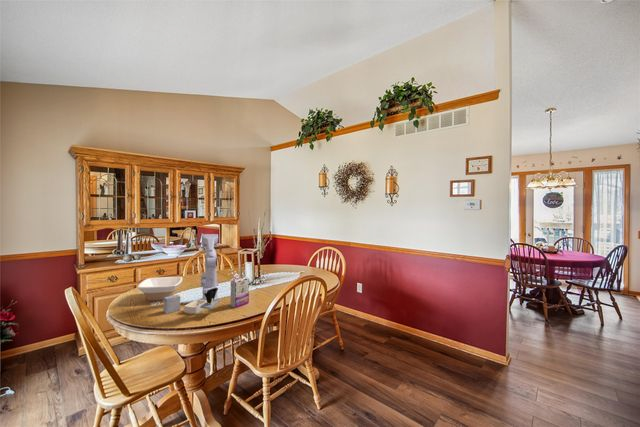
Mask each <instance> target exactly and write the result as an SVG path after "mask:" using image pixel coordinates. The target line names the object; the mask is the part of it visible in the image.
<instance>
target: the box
mask: <svg viewBox="0 0 640 427" xmlns="http://www.w3.org/2000/svg"><path fill="white" fill-rule="evenodd" d="M206 302H207V300H202V299H198V298H197V299H195V300H192V301H191V302H188V303H187V304H185V305H184V306H183V314H188V315H189V314H190V315H197V314H200V313H202V312H203V311H204V310H205V309H204V308H200V306H202V305H203V304H205V303H206Z"/></svg>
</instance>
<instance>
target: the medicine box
mask: <svg viewBox="0 0 640 427" xmlns="http://www.w3.org/2000/svg"><path fill="white" fill-rule="evenodd" d="M162 301H163V302H162V303H163V304H162V308H163V309H162V310H163V313H164V314H166V315H167V314H172V313H175V312H179V311H181V296H180V295H178V294H173V295H172V296H169V297H165V298H163V300H162Z"/></svg>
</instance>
